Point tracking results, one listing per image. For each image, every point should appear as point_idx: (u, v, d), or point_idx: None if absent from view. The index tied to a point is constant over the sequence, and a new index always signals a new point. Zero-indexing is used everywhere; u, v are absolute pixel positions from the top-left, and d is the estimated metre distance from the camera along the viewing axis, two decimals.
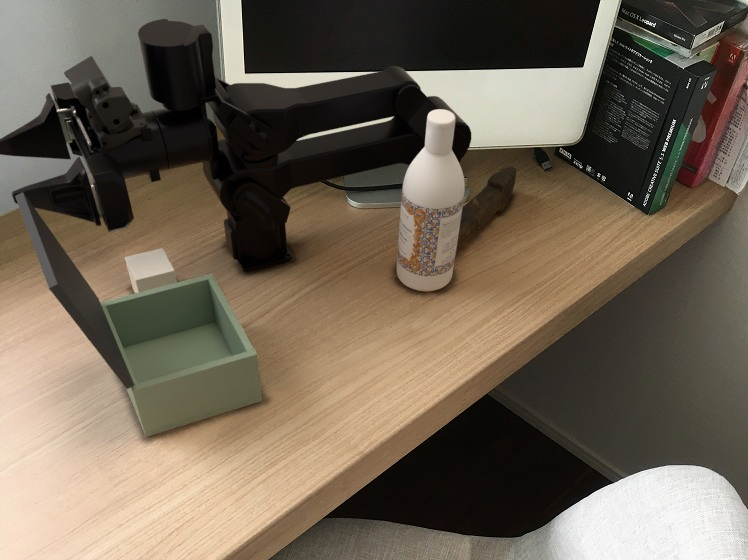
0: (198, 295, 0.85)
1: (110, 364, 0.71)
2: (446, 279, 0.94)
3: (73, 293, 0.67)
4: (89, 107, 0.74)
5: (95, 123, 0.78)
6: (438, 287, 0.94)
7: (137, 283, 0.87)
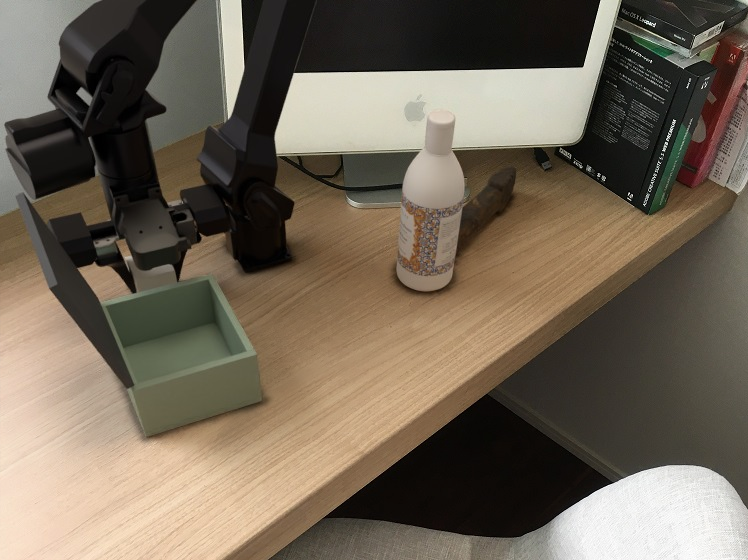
0: (198, 295, 0.85)
1: (110, 364, 0.71)
2: (446, 279, 0.94)
3: (73, 293, 0.67)
4: None
5: None
6: (438, 287, 0.94)
7: (137, 283, 0.87)
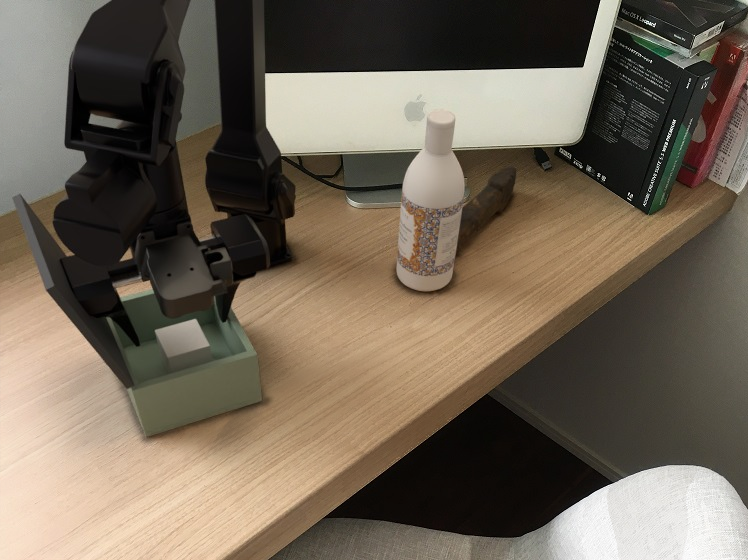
0: None
1: (109, 364, 0.71)
2: (446, 279, 0.94)
3: (71, 294, 0.67)
4: None
5: None
6: (438, 287, 0.94)
7: (169, 360, 0.80)
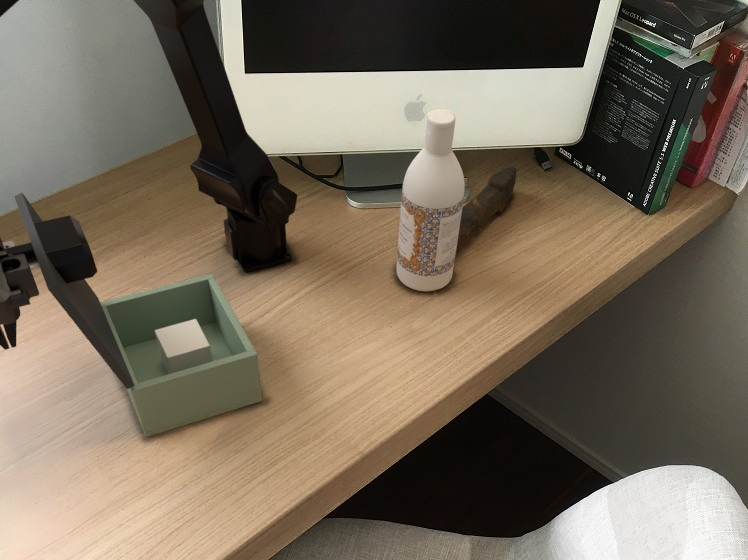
0: (198, 295, 0.85)
1: (110, 364, 0.71)
2: (446, 279, 0.94)
3: (72, 293, 0.67)
4: None
5: None
6: (438, 287, 0.94)
7: (169, 360, 0.80)
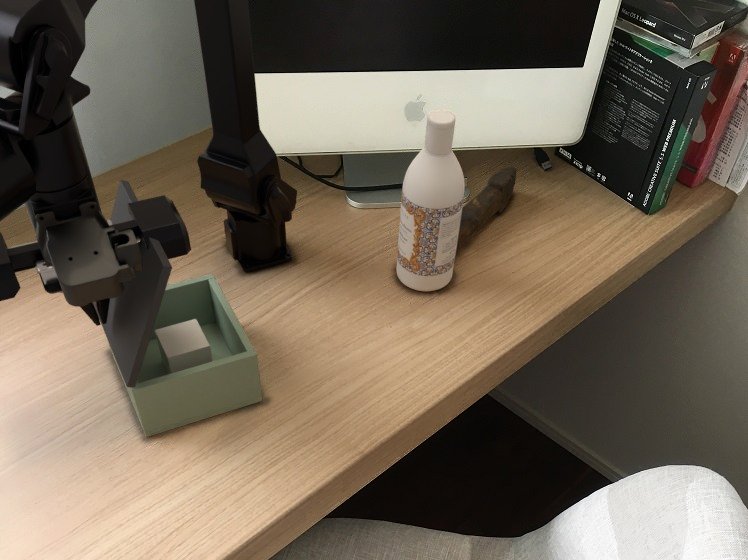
0: (198, 295, 0.85)
1: (138, 357, 0.72)
2: (446, 279, 0.94)
3: None
4: None
5: None
6: (438, 287, 0.94)
7: (169, 360, 0.80)
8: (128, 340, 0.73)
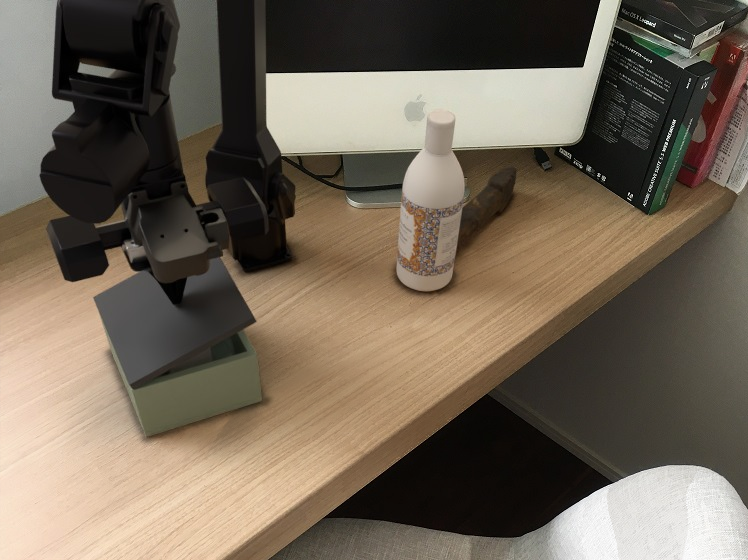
0: None
1: (163, 367, 0.74)
2: (446, 279, 0.94)
3: None
4: None
5: None
6: (438, 287, 0.94)
7: None
8: (155, 350, 0.75)
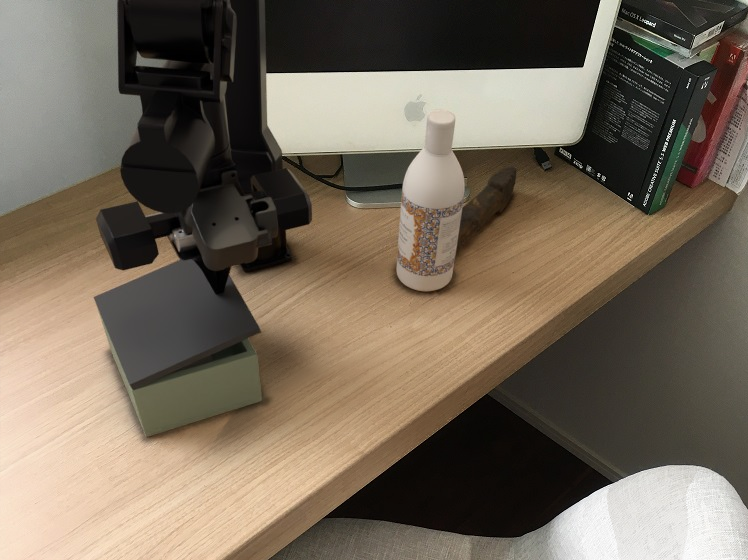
0: None
1: (165, 370, 0.74)
2: (446, 279, 0.94)
3: None
4: None
5: None
6: (438, 287, 0.94)
7: None
8: (157, 352, 0.75)
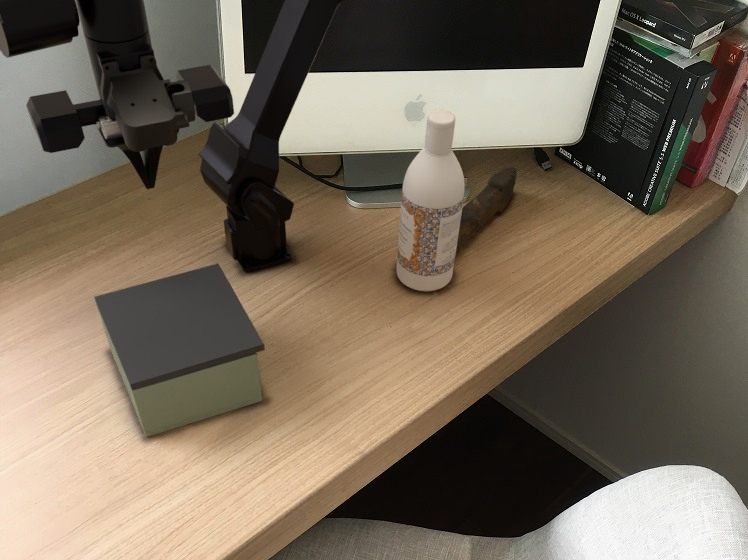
0: None
1: (168, 374, 0.75)
2: (446, 279, 0.94)
3: None
4: None
5: None
6: (438, 287, 0.94)
7: None
8: (159, 356, 0.76)
